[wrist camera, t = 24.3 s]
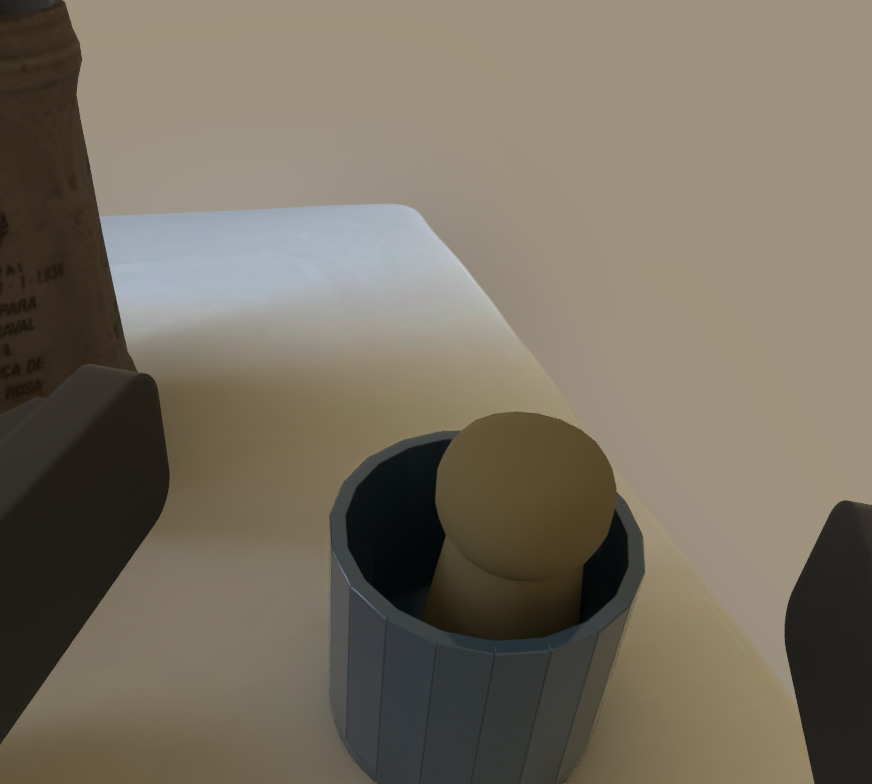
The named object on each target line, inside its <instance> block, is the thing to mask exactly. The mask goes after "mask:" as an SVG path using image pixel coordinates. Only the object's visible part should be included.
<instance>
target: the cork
mask: <svg viewBox="0 0 872 784" xmlns="http://www.w3.org/2000/svg"><path fill="white" fill-rule="evenodd" d="M435 503H436V508H437V512H438V516H439V519H440V522H441V524H442V527H443V529H444V532H445V534H446V537H445V540H444V544H443V547H442V550H441V554H440V557H439V560H438V564H437V567H436V570H435V573H434V577H433V580H432V583H431V587H430V590H429V593H428V597H427V600H426V603H425V607H424V610H423V613H422V616H421V621H423V622H425V623H427V624H430V625H432V626H434V627H436V628H438V629H440V630H442V631H446V632H452V633H457V634H462V635H467V636H472V637H478V638H483V639H488V640H493V641H495V640H510V639H525V638H540V637H546V636H549V635H551V634H554V633H557V632H559V631H562V630H565V629H567V628H570V627H573V626H575V625H578V624H579V620H580V606H581V592H582V578H583V565H584V564H585V563H586V562H587V561H588V559H589V558H590V557H591V556H592V555H593V554H594V553H595V552H596V551H597V549H598V548H599V547H600V545H601V544H602V542H603V541H604V540H605V538H606V537H607V535H608V532H609V528H610V525H611V522H612V518H613V514H614V511H615V507H616V503H617V495H616V484H615V480H614V475H613V471H612V468H611V466H610V464H609V461H608V459H607V457H606V456H605V454H604V453H603V451H602V450H601V448H600V447H599V446H598V444H597V443H596V442H595V441H594V440H593V439H592V438H590V437H589V436H588V435H587V434H585V433H584V432H583V431H582V430H580V429H578V428H576V427H574V426H572V425H570V424H568V423H566V422H564V421H562V420H560V419H556V418H552V417H549V416H545V415H541V414H536V413H525V412H508V413H498V414H493V415H490V416H487V417H484V418H481V419H478V420H476V421H474V422H473V423H471V424H470V425H469V426H467V427H466V428H465V429H463V430H462V431H461V432H460V433H459V434H458V435H457V436H456V437H455V438H454V439H453V440H452V441H451V443H450V445H449V446H448V448H447V450H446V451H445V453H444V455H443V457H442V459H441V462H440V464H439V466H438V469H437V482H436V497H435Z"/></svg>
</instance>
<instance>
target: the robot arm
mask: <svg viewBox="0 0 872 784" xmlns="http://www.w3.org/2000/svg"><path fill="white" fill-rule="evenodd" d="M168 488H169V465H168V458H167V451H166V444H165V437H164V430H163V423H162V416H161V409H160V402H159V395H158V389H157V385H156V383H155V381H154V379H153V378H152V377H151V376H150V375H148V374H144V373H139V372H133V371H127V370H122V369H116V368H111V367H105V366H99V365H94V364H86V365H83V366H81V367H79V368H78V369H77V370H76V371H74V372H73V373H72V374H71V375H70V376H69V377H68V378H67V379H66V380H65V381H64V382H63V383H62V384H61V385H59V386H58V387H57V388H56V389H55V390H54V391H53V392H52V393H51V394H50V395H49V396H48V397H47V398H43V397H35V398H33V399H31V400H29V401H27V402H25V403H23V404H21V405H19V406H17V407H15V408H13V409H11V410H9V411H7V412H5V413H3V414H1V415H0V744H1V743H2V741H3V740H4V738H5V737H6V735H7V734H8V733H9V731H10V730H11V728H12V727H13V725H14V724H15V723H16V721H17V720H18V718H19V717H20V715H21V714H22V713H23V711H24V710H25V708H26V707H27V705H28V704H29V703H30V701H31V700H32V698H33V697H34V696H35V694H36V693H37V691H38V690H39V688H40V687H41V686H42V684H43V683H44V681H45V680H46V678H47V677H48V676H49V674H50V673H51V671H52V670H53V668H54V667H55V666H56V664H57V663H58V661H59V660H60V658H61V657H62V656H63V654H64V653H65V651H66V650H67V648H68V647H69V646H70V644H71V643H72V641H73V640H74V638H75V637H76V636H77V634H78V633H79V631H80V630H81V628H82V627H83V626H84V624H85V623H86V621H87V620H88V619H89V617H90V616H91V614H92V613H93V611H94V610H95V609H96V607H97V606H98V604H99V603H100V601H101V600H102V599H103V597H104V596H105V594H106V593H107V591H108V590H109V589H110V587H111V586H112V584H113V583H114V581H115V580H116V579H117V577H118V576H119V574H120V573H121V571H122V570H123V569H124V567H125V566H126V564H127V563H128V561H129V560H130V559H131V557H132V556H133V554H134V553H135V551H136V550H137V549H138V547H139V546H140V544H141V543H142V541H143V540H144V539H145V537H146V536H147V534H148V533H149V532H150V530H151V529H152V527H153V526H154V524H155V523H156V521H157V520H158V518H159V516H160V514H161V512H162V510H163V507H164V504H165V501H166V498H167V494H168ZM785 646H786V652H787V657H788V662H789V666H790V671H791V675H792V680H793V685H794V689H795V694H796V699H797V704H798V708H799V713H800V718H801V722H802V727H803V732H804V736H805V741H806V746H807V750H808V755H809V760H810V764H811V769H812V774H813V778H814V783H815V784H872V505H868V504H863V503H857V502H851V501H841V502H839V503H838V504H837V505H836V506H835V507H834V508H833V510H832V511H831V513H830V515H829V517H828V519H827V521H826V523H825V525H824V527H823V529H822V531H821V533H820V535H819V537H818V540H817V542H816V544H815V546H814V548H813V550H812V552H811V554H810V556H809V558H808V560H807V562H806V564H805V566H804V568H803V571H802V573H801V575H800V577H799V579H798V581H797V583H796V585H795V587H794V589H793V591H792V594H791V596H790V600H789V602H788V607H787V611H786V619H785Z"/></svg>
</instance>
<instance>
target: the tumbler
mask: <svg viewBox="0 0 872 784" xmlns="http://www.w3.org/2000/svg"><path fill="white" fill-rule="evenodd" d="M460 432H461V431H441V432H435V433H431V434H427V435H423V436H418V437H414V438H410V439H406V440H402V441H399V442H397V443H396V444H394V445H392V446H390V447H388V448H386V449H384V450H382V451H380V452H378V453H376V454H374V455H372V456H370V457H369V458H367V459H366V460H365V461H364V462H363V463H362V464H361V465H360V466H359V467H358V468H357V469H356V470H355V471H354V472H353V473H352V474H351V475H350V476H349V477H348V478H347V479H346V480H345V481H344V482H343V484H342V486H341V488H340V491H339V493H338V496H337V498H336V500H335V503H334V505H333V507H332V510H331V512H330V516H329V695H330V707H331V711H332V715H333V719H334V723H335V726H336V728H337V731H338V733H339V736H340V738H341V740H342V742H343V743H344V745H345V747H346V749H347V750H348V752H349V754H350V755H351V756H352V757H353V759H354V760H355V761H356V763H357V764H358V765H359V766H360V768H361V769H362V770H363V771H364V772H366V773H367V774H368V775H369V776H370V777H371V778H372V779H373V780H374V781H375V782H376V783H378V784H562V783H563V782H564V781H565V780H566V779H567V778H568V777H569V776H570V774H571V773H572V772H573V771H574V770H575V768H576V767H577V766H578V764H579V762H580V760H581V759H582V757H583V755H584V754H585V751H586V749H587V746H588V744H589V741H590V738H591V735H592V732H593V730H594V728H595V725H596V723H597V720H598V717H599V714H600V711H601V708H602V704H603V701H604V698H605V695H606V692H607V689H608V686H609V683H610V679H611V676H612V673H613V670H614V667H615V664H616V661H617V658H618V655H619V651H620V648H621V645H622V642H623V639H624V636H625V633H626V630H627V627H628V623H629V620H630V617H631V614H632V611H633V608H634V605H635V602H636V599H637V595H638V592H639V589H640V586H641V583H642V580H643V577H644V574H645V560H644V544H643V536H642V533H641V531H640V529H639V527H638V525H637V523H636V521H635V519H634V517H633V515H632V513H631V510H630V508H629V506H628V504H627V503H626V502H625V500H624V499H623V498H622V497H621V496H620V495H619V494H618V493H617V492H616V495H617V503H616V507H615V511H614V514H613V518H612V522H611V525H610V528H609V532H608V535H607V537H606V538H605V540H604V541H603V542H602V544H601V545H600V547H599V548H598V549H597V551H596V552H595V553H594V554H593V555H592V556H591V557H590V558H589V559H588V561H587V562H586V563H585V564H584V565H583V578H582V592H581V606H580V620H579V624H578V625H575V626H573V627H570V628H567V629H565V630H562V631H559V632H557V633H554V634H551V635H549V636H546V637H540V638H525V639H510V640H495V641H493V640H488V639H483V638H478V637H472V636H467V635H462V634H457V633H452V632H446V631H442V630H440V629H438V628H436V627H434V626H432V625H430V624H427V623H425V622H423V621H421V616H422V613H423V610H424V607H425V603H426V600H427V597H428V593H429V590H430V587H431V583H432V580H433V577H434V573H435V570H436V567H437V564H438V560H439V557H440V554H441V550H442V547H443V544H444V540H445V537H446V534H445V532H444V529H443V527H442V524H441V522H440V519H439V516H438V512H437V508H436V503H435V497H436V482H437V469H438V466H439V464H440V462H441V459H442V457H443V455H444V453H445V451H446V450H447V448H448V446H449V445H450V443H451V441H452V440H453V439H454V438H455V437H456V436H457V435H458V434H459V433H460Z"/></svg>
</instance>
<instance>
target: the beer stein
mask: <svg viewBox="0 0 872 784" xmlns="http://www.w3.org/2000/svg"><path fill="white" fill-rule="evenodd" d="M81 62H82V57H81V50H80V43H79V41H78V39H77V36H76V34H75V32H74V30H73V28H72V25H71V21H70V18H69V14H68V11H67V8H66V4H65V2H64V1H62V0H0V415H1V414H3V413H5V412H7V411H9V410H11V409H13V408H15V407H17V406H19V405H21V404H23V403H25V402H27V401H29V400H31V399H33V398H35V397H43V398H47V397H48V396H49V395H50V394H51V393H52V392H53V391H54V390H55V389H56V388H57V387H58V386H59V385H61V384H62V383H63V382H64V381H65V380H66V379H67V378H68V377H69V376H70V375H71V374H72V373H73V372H74V371H76V370H77V369H78V368H79V367H81V366H83V365H86V364H94V365H99V366H105V367H111V368H116V369H122V370H127V371H133V372H137V370H136V367H135V365H134V362H133V360H132V358H131V356H130V355H129V353H128V351H127V347H126V342H125V338H124V333H123V328H122V324H121V319H120V314H119V310H118V305H117V300H116V296H115V291H114V286H113V282H112V277H111V272H110V267H109V262H108V258H107V253H106V248H105V243H104V239H103V234H102V229H101V223H100V218H99V213H98V207H97V202H96V197H95V191H94V186H93V181H92V175H91V170H90V164H89V159H88V154H87V149H86V144H85V140H84V135H83V130H82V125H81V120H80V114H79V107H78V102H77V95H76V92H77V83H78V76H79V71H80V66H81Z"/></svg>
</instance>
